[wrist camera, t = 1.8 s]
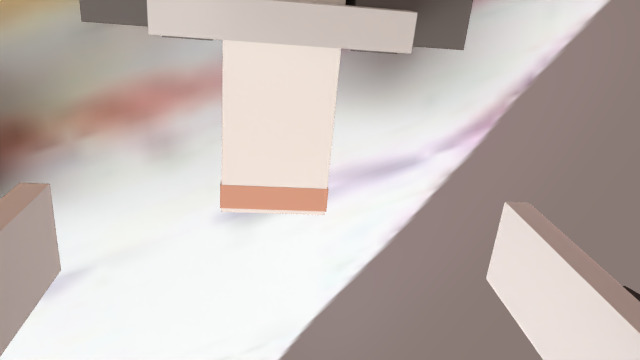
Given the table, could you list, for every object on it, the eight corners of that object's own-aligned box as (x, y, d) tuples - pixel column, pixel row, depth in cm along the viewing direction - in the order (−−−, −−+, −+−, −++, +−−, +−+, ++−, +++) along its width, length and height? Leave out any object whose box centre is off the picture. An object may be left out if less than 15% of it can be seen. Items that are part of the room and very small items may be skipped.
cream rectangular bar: (228, -173, 20) (223, -192, 18) (353, -157, 21) (364, -174, 18) (224, 189, 26) (220, 211, 24) (320, 192, 27) (325, 215, 24)
